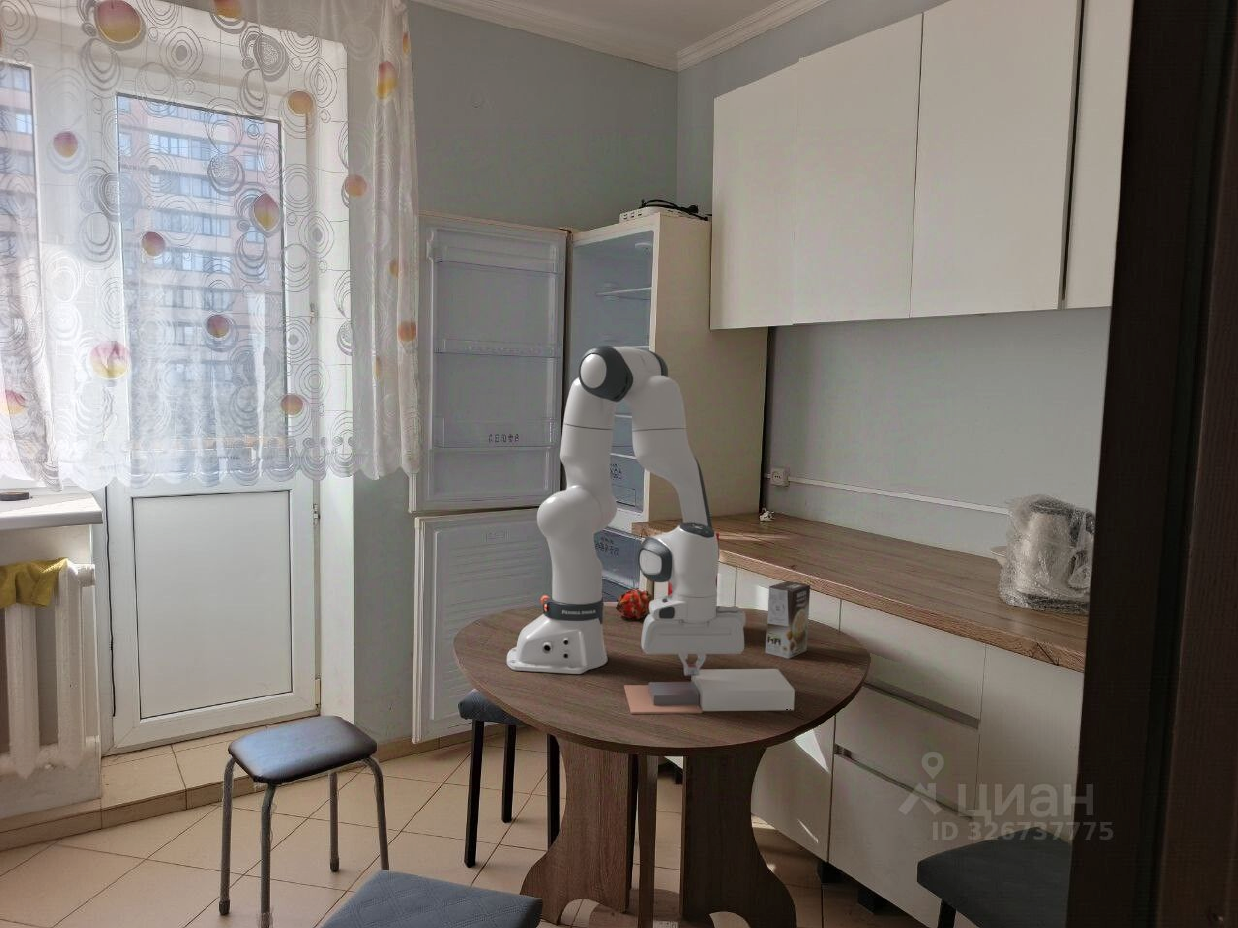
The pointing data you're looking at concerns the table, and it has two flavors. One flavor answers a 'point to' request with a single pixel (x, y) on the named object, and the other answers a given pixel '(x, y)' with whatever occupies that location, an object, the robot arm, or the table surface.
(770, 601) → the coffee box
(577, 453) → the robot arm
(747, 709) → the block
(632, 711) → the mat
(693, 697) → the gray flat block
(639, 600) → the dragon fruit
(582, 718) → the table surface
